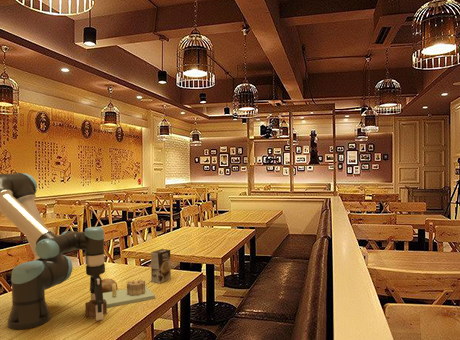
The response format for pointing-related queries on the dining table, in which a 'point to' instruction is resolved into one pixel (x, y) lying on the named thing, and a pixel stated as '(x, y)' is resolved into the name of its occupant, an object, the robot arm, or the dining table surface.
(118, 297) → the gear board
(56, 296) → the dining table surface
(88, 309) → the walnut gear
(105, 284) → the bread roll
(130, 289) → the beech gear
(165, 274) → the coffee box
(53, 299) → the dining table surface
